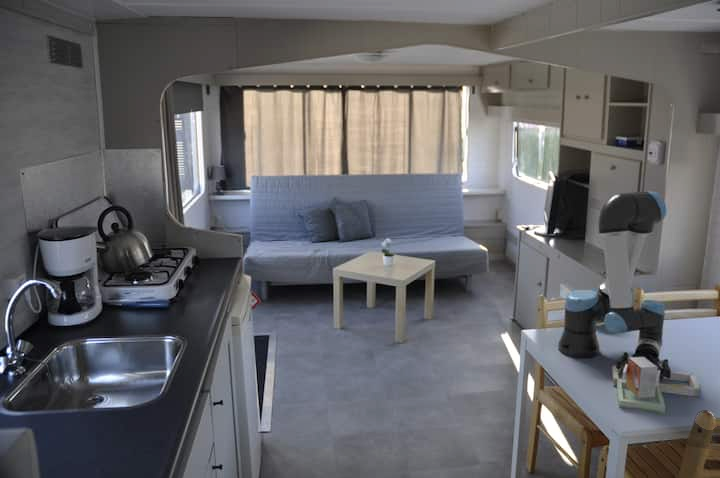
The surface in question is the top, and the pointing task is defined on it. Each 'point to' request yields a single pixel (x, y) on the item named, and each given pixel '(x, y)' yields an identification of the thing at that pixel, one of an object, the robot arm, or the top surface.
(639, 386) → the small box
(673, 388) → the beige divided frame
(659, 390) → the tray
